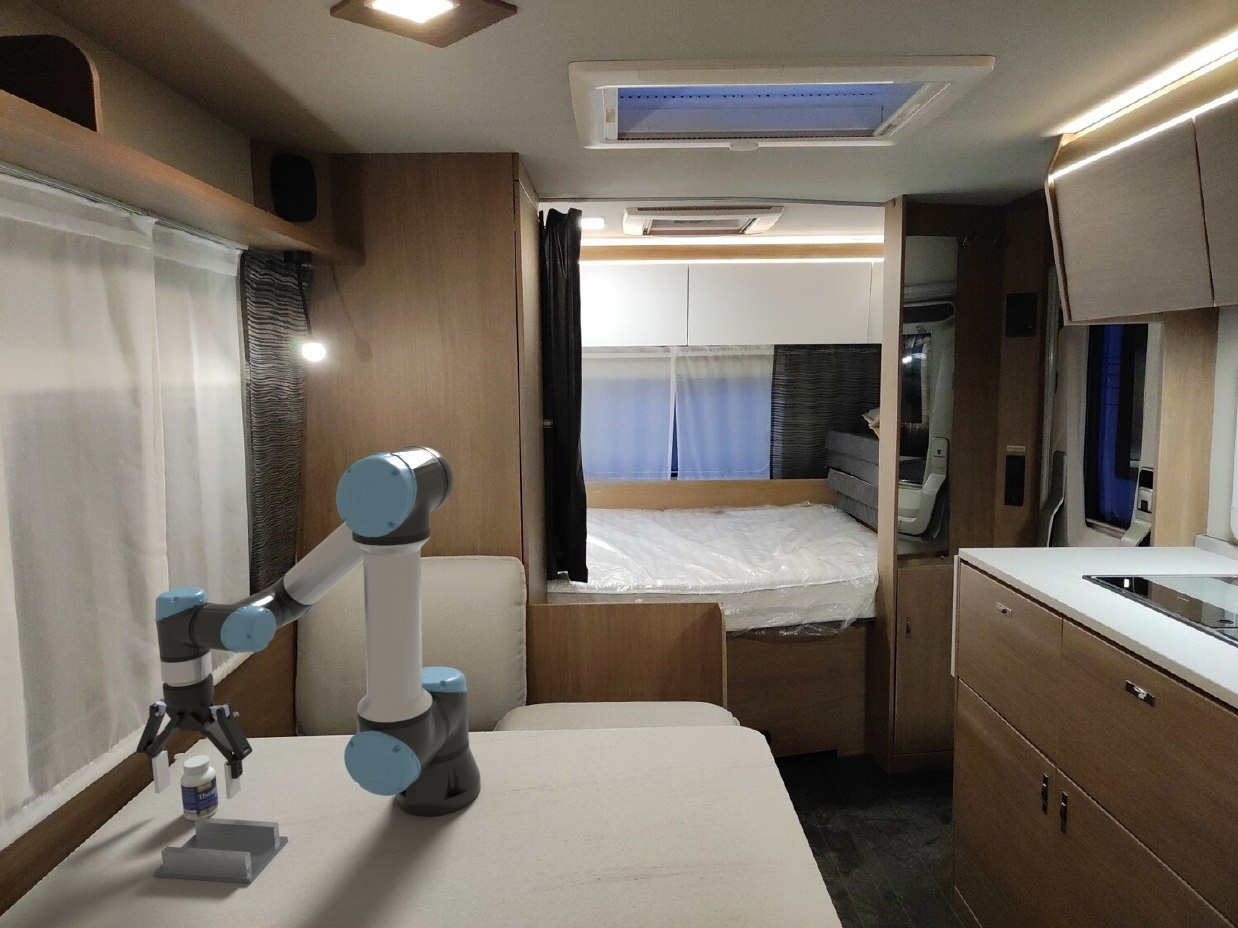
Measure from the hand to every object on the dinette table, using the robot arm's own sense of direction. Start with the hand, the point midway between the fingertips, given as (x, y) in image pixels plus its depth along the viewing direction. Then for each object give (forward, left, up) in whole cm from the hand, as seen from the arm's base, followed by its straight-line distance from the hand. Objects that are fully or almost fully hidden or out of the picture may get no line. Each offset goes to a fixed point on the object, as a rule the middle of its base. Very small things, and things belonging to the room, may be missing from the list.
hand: (198, 791), depth 128 cm
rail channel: (-12, +11, -4) cm, 17 cm away
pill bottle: (0, 0, -4) cm, 4 cm away
